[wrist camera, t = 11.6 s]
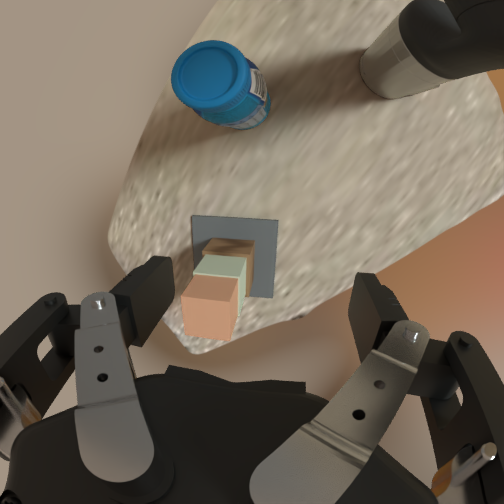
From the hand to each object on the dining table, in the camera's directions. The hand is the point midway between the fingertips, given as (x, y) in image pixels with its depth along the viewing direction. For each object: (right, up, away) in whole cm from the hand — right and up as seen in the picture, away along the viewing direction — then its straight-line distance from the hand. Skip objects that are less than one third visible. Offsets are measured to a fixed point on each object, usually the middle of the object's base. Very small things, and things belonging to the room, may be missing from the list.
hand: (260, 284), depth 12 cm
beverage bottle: (-2, +24, +26) cm, 35 cm away
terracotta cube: (-5, -4, +24) cm, 25 cm away
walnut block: (-3, 0, +35) cm, 35 cm away
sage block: (-4, -2, +29) cm, 30 cm away
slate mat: (-3, 0, +35) cm, 35 cm away
